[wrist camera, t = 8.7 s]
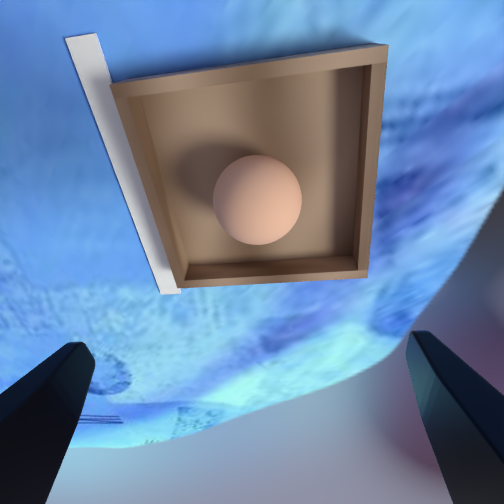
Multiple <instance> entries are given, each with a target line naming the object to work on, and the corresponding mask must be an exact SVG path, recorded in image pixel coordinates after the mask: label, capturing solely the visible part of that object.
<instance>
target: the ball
mask: <svg viewBox="0 0 504 504" xmlns="http://www.w3.org/2000/svg"><path fill="white" fill-rule="evenodd" d="M301 205H302V195H301V189H300V186H299V183H298V181H297V178H296V177H295V175H294V174H293V172H292V171H291V170H290V169H289V168H288V167H287V166H286V165H285V164H284V163H282V162H281V161H279V160H277V159H275V158H272V157H269V156H265V155H251V156H246V157H243V158H240V159H238V160H236V161H234V162H233V163H231V164H230V165H229V166H228V167H227V168H226V169H225V170H224V171H223V172H222V173H221V175H220V177H219V178H218V180H217V182H216V185H215V188H214V193H213V207H214V212H215V215H216V217H217V220H218V222H219V224H220V225H221V227H222V228H223V229H224V230H225V231H226V232H227V233H228V234H229V235H230V236H231V237H233V238H234V239H236V240H238V241H240V242H243V243H246V244H252V245H263V244H268V243H272V242H274V241H276V240H278V239H280V238H282V237H283V236H284V235H286V234H287V233H288V232H289V231H290V230H291V229H292V227H293V226H294V224H295V223H296V221H297V219H298V217H299V214H300V210H301Z"/></svg>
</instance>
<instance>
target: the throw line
mask: <svg viewBox="0 0 504 504" xmlns="http://www.w3.org/2000/svg"><path fill="white" fill-rule="evenodd" d="M65 40H66V43H67V45H68V48H69V51H70V53H71V56H72V59H73V61H74V64H75V66H76V69H77V72H78V74H79V77H80V80H81V82H82V85H83V88H84V90H85V93H86V96H87V98H88V101H89V104H90V106H91V109H92V112H93V114H94V117H95V120H96V122H97V125H98V128H99V130H100V133H101V136H102V138H103V141H104V144H105V146H106V149H107V152H108V154H109V157H110V159H111V162H112V165H113V167H114V170H115V173H116V175H117V178H118V181H119V183H120V186H121V189H122V191H123V194H124V197H125V199H126V202H127V205H128V207H129V210H130V213H131V215H132V218H133V221H134V223H135V226H136V229H137V231H138V234H139V237H140V239H141V242H142V245H143V247H144V250H145V253H146V255H147V258H148V260H149V263H150V266H151V268H152V271H153V274H154V276H155V279H156V282H157V284H158V287H159V290H160V292H161V295H162V294H181V289H180V288H177V286H176V283H175V280H174V277H173V274H172V271H171V268H170V265H169V262H168V259H167V256H166V253H165V250H164V247H163V244H162V241H161V238H160V235H159V232H158V229H157V226H156V223H155V220H154V217H153V214H152V211H151V208H150V205H149V202H148V199H147V196H146V193H145V190H144V187H143V184H142V181H141V178H140V175H139V172H138V169H137V166H136V163H135V160H134V157H133V154H132V151H131V148H130V145H129V142H128V139H127V136H126V133H125V130H124V128H123V125H122V122H121V119H120V116H119V113H118V110H117V107H116V104H115V101H114V98H113V95H112V92H111V89H110V86H109V85H110V84H113V82H112V79H111V76H110V73H109V69H108V66H107V63H106V60H105V57H104V54H103V51H102V48H101V45H100V42H99V39H98V36H97V33H94V34H88V35H82V36H76V37H70V38H65Z"/></svg>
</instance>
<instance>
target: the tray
mask: <svg viewBox="0 0 504 504" xmlns="http://www.w3.org/2000/svg"><path fill="white" fill-rule="evenodd" d="M388 46H389V45H385V44H378V43H374V44H367V45H360V46H353V47H347V48H340V49H333V50H326V51H319V52H312V53H305V54H298V55H291V56H284V57H277V58H270V59H263V60H256V61H249V62H242V63H235V64H228V65H221V66H214V67H207V68H200V69H193V70H186V71H179V72H172V73H165V74H158V75H151V76H144V77H137V78H130V79H125V80H122V81H119V82H116V83H113V84H110V85H109V86H110V89H111V92H112V95H113V98H114V101H115V104H116V107H117V110H118V113H119V116H120V119H121V122H122V125H123V128H124V130H125V133H126V136H127V139H128V142H129V145H130V148H131V151H132V154H133V157H134V160H135V163H136V166H137V169H138V172H139V175H140V178H141V181H142V184H143V187H144V190H145V193H146V196H147V199H148V202H149V205H150V208H151V211H152V214H153V217H154V220H155V223H156V226H157V229H158V232H159V235H160V238H161V241H162V244H163V247H164V250H165V253H166V256H167V259H168V262H169V265H170V268H171V271H172V274H173V277H174V280H175V283H176V286H177V288H193V287H211V286H229V285H247V284H265V283H283V282H301V281H319V280H337V279H355V278H367V277H368V266H369V255H370V244H371V233H372V222H373V211H374V200H375V189H376V178H377V167H378V156H379V145H380V134H381V123H382V112H383V101H384V90H385V79H386V68H387V57H388ZM251 155H265V156H269V157H272V158H275V159H277V160H279V161H281V162H282V163H284V164H285V165H286V166H287V167H288V168H289V169H290V170H291V171H292V172H293V174H294V175H295V177H296V178H297V181H298V183H299V186H300V189H301V195H302V205H301V210H300V214H299V217H298V219H297V221H296V223H295V224H294V226H293V227H292V229H291V230H290V231H289V232H288V233H287V234H286V235H284V236H283V237H282V238H280V239H278V240H276V241H274V242H272V243H268V244H263V245H252V244H246V243H243V242H240V241H238V240H236V239H234V238H233V237H231V236H230V235H229V234H228V233H227V232H226V231H225V230H224V229H223V228H222V227H221V225H220V224H219V222H218V220H217V217H216V215H215V212H214V207H213V193H214V188H215V185H216V182H217V180H218V178H219V177H220V175H221V173H222V172H223V171H224V170H225V169H226V168H227V167H228V166H229V165H230V164H231V163H233V162H234V161H236V160H238V159H240V158H243V157H246V156H251Z"/></svg>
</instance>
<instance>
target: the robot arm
mask: <svg viewBox="0 0 504 504" xmlns="http://www.w3.org/2000/svg"><path fill="white" fill-rule="evenodd" d="M406 360H407V365H408V369H409V373H410V376H411V380H412V384H413V388H414V392H415V395H416V400H417V404H418V408H419V411H420V415H421V419H422V421H423V424H424V427H425V430H426V433H427V435H428V438H429V441H430V443H431V446H432V449H433V451H434V454H435V457H436V459H437V462H438V464H439V467H440V470H441V473H442V475H443V478H444V481H445V483H446V486H447V488H448V491H449V494H450V496H451V499H452V501H453V504H504V395H503V394H502V393H500V392H499V391H498V390H497V389H495V387H493V386H492V385H491V384H490V383H489V382H488V381H486V380H485V379H484V378H483V377H482V376H481V375H479V374H478V373H477V372H476V371H475V370H473V369H472V368H471V367H470V366H469V365H468V364H467V363H465V362H464V361H463V360H462V359H461V358H460V357H459V356H457V355H456V354H455V353H454V352H453V351H452V350H451V349H449V348H448V347H447V346H446V345H445V344H444V343H442V342H441V341H440V340H439V339H438V338H436V337H435V336H434V335H433V334H432V333H431V332H429V331H426V330H419V331H411V332H410V334H409V338H408V343H407V348H406ZM94 369H95V359H94V357H93V356H92V354H91V352H90V351H89V349H88V348H87V346H86V344H85V343H83V342H69V343H67V344H65V345H64V346H63V347H61V348H60V349H59V350H57V351H56V352H55V353H53V354H52V355H51V356H50V357H48V358H47V359H46V360H44V361H43V362H42V363H40V364H39V365H38V366H36V367H35V368H34V369H33V370H31V371H30V372H29V373H27V374H26V375H25V376H23V377H22V378H21V379H19V380H18V381H17V382H16V383H14V384H13V385H12V386H10V387H9V388H8V389H6V390H5V391H4V392H2V393H1V394H0V504H45V503H46V501H47V498H48V496H49V493H50V491H51V488H52V486H53V483H54V481H55V478H56V476H57V474H58V471H59V469H60V466H61V464H62V461H63V459H64V456H65V454H66V451H67V449H68V446H69V444H70V441H71V439H72V436H73V434H74V432H75V429H76V426H77V424H78V421H79V418H80V415H81V412H82V409H83V406H84V402H85V399H86V396H87V392H88V389H89V386H90V382H91V379H92V376H93V372H94Z"/></svg>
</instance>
